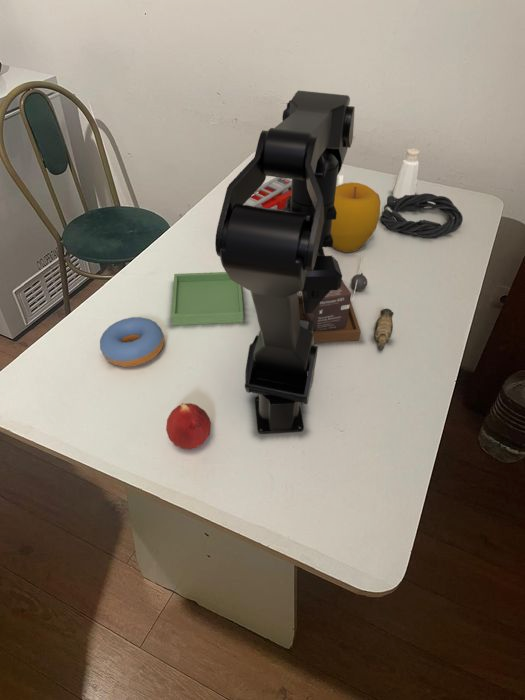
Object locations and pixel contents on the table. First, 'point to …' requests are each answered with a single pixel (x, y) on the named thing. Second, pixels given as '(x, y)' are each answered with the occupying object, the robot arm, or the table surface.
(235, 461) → the table surface
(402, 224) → the cable
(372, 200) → the apple
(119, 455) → the table surface
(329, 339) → the walnut tray
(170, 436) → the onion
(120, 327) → the doughnut
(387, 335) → the cat figurine
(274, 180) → the toy fire truck
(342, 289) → the box
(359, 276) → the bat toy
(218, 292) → the produce tray
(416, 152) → the pepper shaker
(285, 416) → the robot arm
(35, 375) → the table surface
